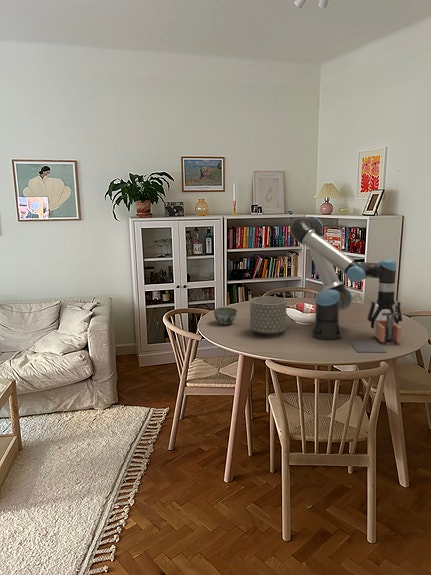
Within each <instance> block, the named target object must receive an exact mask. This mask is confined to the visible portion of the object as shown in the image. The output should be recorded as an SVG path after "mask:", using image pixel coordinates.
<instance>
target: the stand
mask: <svg viewBox="0 0 431 575" xmlns="http://www.w3.org/2000/svg"><path fill="white" fill-rule="evenodd" d="M382 315H383V316H387V322H386V334H385V337H384V342H383V343H384V344H385V345H394V341H393V340H394V338H393V324H394V316H396V317H398V316H399V313H397V312H394V313H391V312H390V313H382Z"/></svg>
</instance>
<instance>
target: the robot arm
mask: <svg viewBox="0 0 431 575" xmlns="http://www.w3.org/2000/svg"><path fill="white" fill-rule="evenodd" d="M323 229H324V226H323V223H322V222H321V220H320V219H319V218H317V217H313V216H307V217H297V218H295V219H294V220H293V221H291V224H290V226H289V233H290V235H291V237H292V238H293V239H294V240H295V241H297V242H298V243H299V244H300V245H302V246H306V248H307V250H308V251H309V254H310V256H311V259H312V261H313V264H314V266H315V268H316V270H317V273H318V276H319V278H320V280H321V283H322V284H323V289H322V290H320V291H318V292H317V293H316V296H315V319H314V320H315V321H314V324H313V326H312V328H311V336H312V337H313V338H315V339H319V340H324V341H336V340H339V339H341V338H342V335H343V334H342V333H343V332H342V329H341V324H340V322H339V321H340V320H339V318H340V313H341V312H343V311H345V310H346V309H348V308H349V307H350V306H351V304H352V301H353V294H352V292H351V291H350V289H347V287H346V286H345V284H344V282H342V281H340V279H339V277H338V274H337V272H336V269H335V267H336V268H337V269H338V270H340V271H341V272H342V273H344V274H345V275H346V277H347V279H348V280H349V281H350V282H352V283H359V282H361V281H363V280H366V279H368V278H370V279H378V287H377V288H378V292H377V300H376V301H373V300H372V301H370V307H369V311H368V316H367V319H366V320H367V321H368V322H370V328H371V330H372V332H371V333H372V335H373V336H375V331H376V322H375V320H376V318H377V317H378V315H379V313H380V312H381V311H382V309H389V310H390V313H395V310H394V308H393V306H395V309H396V313H399V316H394V322H395V323H396V324H397V325H398V326H399V322H402V321H403V317H402V311H401V302H400V301H399V300H396V301H395V288H396V287H395V286H396V277H397V276H396V274H397V261H395V259H394V260H393V259H386V258H385V259H381V260H380V261H379V263H378V262H365V261H358V262H356V261H355V260H354V259H353V258H351V257H349V255H346V253H344V252H343V251H341V250H340V249H338V248H337V247H335V245H333V244H331V243H330V242H329V241H327V240H326V239H324V237H325V236H324V234H323ZM376 304H378V305H379V306H378V308H377V310H376V312H374V308H375V306H376Z"/></svg>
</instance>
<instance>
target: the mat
mask: <svg viewBox="0 0 431 575" xmlns="http://www.w3.org/2000/svg"><path fill="white" fill-rule="evenodd" d="M350 345H351V346H352V348H353V350H355V352H356V353H361V354H364V353H365V354H366V353H367V354H368V353H369V354H370V353H371V354H383V353H384V354H387V350H386V349H385V348H383V347H382V346H381V345H380V343H379V342H354V341H353V342H352V341H351V342H350Z"/></svg>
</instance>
